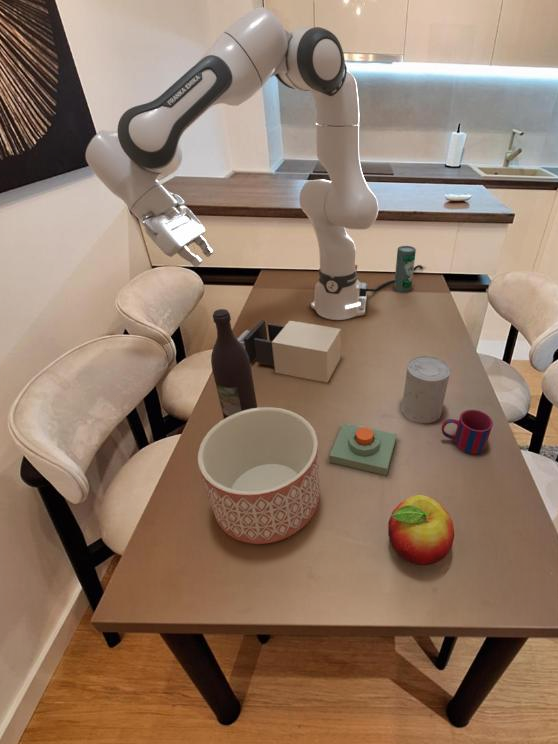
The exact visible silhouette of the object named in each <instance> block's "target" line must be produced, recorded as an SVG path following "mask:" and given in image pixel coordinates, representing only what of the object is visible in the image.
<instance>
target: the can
mask: <svg viewBox="0 0 558 744" xmlns="http://www.w3.org/2000/svg"><path fill="white" fill-rule="evenodd" d="M396 251H397V252H396V263H395V273H394V280H395V282H394V283H393V289H394V291H396V292H398V293H409V292H411V290H412V285H413V278H414V277H413V276H414V271H413V269H414V267H415V261H416V253H417V248H415V247H414V246H411V245H400V246H399V247H398V248H397V250H396Z"/></svg>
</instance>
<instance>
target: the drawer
mask: <svg viewBox="0 0 558 744" xmlns="http://www.w3.org/2000/svg"><path fill="white" fill-rule="evenodd" d="M285 326H286V325H282V324H276V323H271V322H268V323H266V320H265V319H260V320H259V321H258V323H257V324H256V325H255V326H254V327H253V328H252V329H251V330H249V329H246V330H244V331H243V332H242V333H241V334H240V335H239V337H238V338H237V340H238V341H239V342H240V343H241V344H242V345H243V346H244V348H245V349H246V351H247V354H248V356H249V360H250V365H252V364H253V363H254V362H255V361H256V363H257V364H263V365H267V366H273V367H275V366H274V357H273V348H272V341H273V340H274V339H275V338H276V336H277V335H278V334H279V333H280V332H281V330H282V329H283V328H284V327H285ZM268 339H269V340H268Z"/></svg>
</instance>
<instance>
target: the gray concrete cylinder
mask: <svg viewBox="0 0 558 744" xmlns="http://www.w3.org/2000/svg"><path fill="white" fill-rule="evenodd" d="M451 371H452V370H451V367H450V365H449V364H448V363H447V362H446V361H444V360H443V359H441V358H439V357H436V356H431V355H418V356H415V357H412V358H411V359H410V360H409V361H408V362H407V365H406V373H405V374H406V375H405V382H404V388H403V396H402V403H401V412H402V414H403V415H404V416H405V417H406V419H409V420H410V421H412V422H414V423H418V424H430V423H433V422H436V421H438V420H440V418H441V416H442V411H443V407H444V401H445V397H446V393H447V389H448V385H449V379H450V375H451Z"/></svg>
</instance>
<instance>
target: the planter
mask: <svg viewBox="0 0 558 744" xmlns="http://www.w3.org/2000/svg"><path fill="white" fill-rule="evenodd" d="M318 440H319V439H318V437H317V433H316V431H315V429H314V427H313V426H312V425H311V423H310V422H309V421H308V420H307V419H306V418H305V417H303V416H301V415H300V414H298V413H296V412H294V411H292V410H288V409H285V408H280V407H270V406H263V407H262V406H261V407H257V408H253V409H248V410H244V411H241V412H238V413H235V414H233V415H231V416H229V417H227V418H225V419H224V418H223V419H222V420H220V421H219V422H218V423H216V424H215V425H214V426H213V427H212V428H211V429H210V430H209V431H208V432H207V433H206V434H205V436H204V437H203V439H202V441H201V443H200V445H199V448H198V452H197V464H198V469H199V472H200V474H201V479H202V481H203V485H204V488H205V491H206V494H207V498H208V500H209V503H210V507H211V509H212V512H213V515H214V519H215V521H216V523H217V524H218V526H219V528H220V529H221V530H222V531H223V532H224V533H226V534H227V535H228V536H230V537H231V538H233V539H235V540H237V541H240V542H243V543H247V544H255V545H263V544H264V545H265V544H271V543H275V542H280V541H282V540H284V539H287V538H289V537H291V536H293V535H294V534H296V533H298V532H299V531H300V530H301V529H303V528H304V527H305V526H306V525H307V524H308V523H309V521H310V520H311V519H312V518H313V517H314V514H315V512H316V511H317V508H318V505H319V502H320V497H321V488H320V465H319V464H320V463H319V441H318Z"/></svg>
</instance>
